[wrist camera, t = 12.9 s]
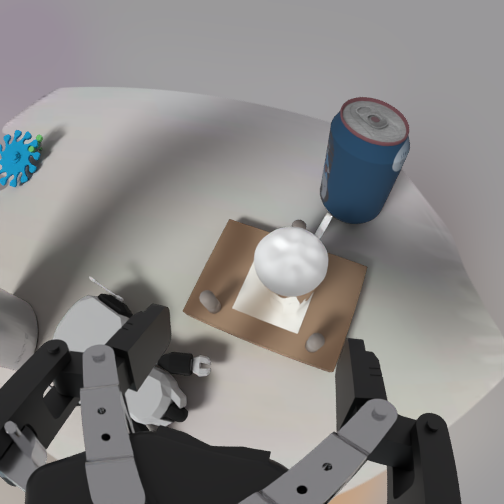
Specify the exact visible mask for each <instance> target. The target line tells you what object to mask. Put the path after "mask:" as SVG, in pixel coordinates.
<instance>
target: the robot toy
mask: <svg viewBox="0 0 504 504" xmlns="http://www.w3.org/2000/svg"><path fill="white" fill-rule="evenodd" d="M89 278H90V280H91V281H93V282H94V283H96V284H98V285H99V286H101V287H102V288H103V289H105V290H106V291H108V292H109V293H111V294H112V295H113V296H115V297H116V298H115V297H113V296H112V295H107V294H100V295H99V296H98V297H97V296H90V295H87V296H85V297H83V298H81V299H79V300H78V301H77V302H76V303H75V304H74V305H73V306H72V307H71V308H70V309H69V310H68V312H67V313H66V314H65V316H64V317H63V319H62V320H61V321H60V323H59V324H58V326H57V328H56V331H55V334H54V337H53V340H54V339H59V340H63V341H65V342H66V343H67V345H68V348H69V351H76V352H84V351H85V350H86V349H87V348H89V347H91V346H93V345H98V344H102V345H105V344H106V343H107V341H108V340H109V339H110V338H111V337H112V336H113V335H114V334H115V333H116V332H117V331H118V330H119V329H120V328H121V327H122V326H123V325H124V324H125V323H126V321H127V320H128V319H129V318H130V317H131V316H132V313H131V312H130V310H129V308H128V307H127V305H125V304H124V303H122V302H123V300H124V299H123V298H122V297H120V296H119V295H116V294H114V293H113V292H111V291H110V290H108V289H107V288H105V287H104V286H103V285H101V284H100V283H98V282H97V281H96V280H95V279H93V278H92V277H89ZM202 363H205V364H209V365H211V360H210V359H209V357H206V356H203V355H199V356H197V357H194V358H193V355H192V354H188V353H178V352H171V353H168V354H165V355H163V356H161V357H160V359H159V360H158V362H157V363H156V365H159V366H160V367H162V368H163V369H165V370H166V371H168V372H169V373H168V372H166V371H164V370H162V369H160V368H158V367H155V366H154V368H153V369H152V371H151V372H150V374H149V375H148V377H147V378H146V380H145V381H144V383H143V384H142V386H141V387H140V389H139V390H138V392H136V391H133V390H130V389H128V390H127V391H126V393H125V395H126V399H127V403H128V408H129V412H130V416H131V420H132V424H133V428H134V431H135V433H136V432H143V431H149V429H148V428H147V427H146V424H154V425H158V426H160V425H162V426H167V425H169V424H171V423H172V422H174V421H177V422H183V421H185V420H186V418H187V416H188V410H187V409H186V408H185V406H186V403H187V396H186V395H185V394H184V393H183V392H182V391H181V389H180V388H179V387H178V384H177V381H176V380H175V379H174V377H173V376H172V375H171V374H180V375H188V376H190V375H191V374H192V372H193V373H195V374H196V375H198V376H207V375H208V374H209V373H210V372H211V368H209V369H201V364H202ZM170 373H171V374H170ZM48 387H49V388H50V389H51V388H52V386H50V385H49V386H48ZM76 406H81V401H79V403H78V404H77V405H76Z"/></svg>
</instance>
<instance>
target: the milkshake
mask: <svg viewBox="0 0 504 504" xmlns="http://www.w3.org/2000/svg"><path fill="white" fill-rule="evenodd" d="M332 217H333V216H332V215H331V214H330V213H328V212H327V213H326V215H325V217H324V218H323V220H322V222H321V224H320V226H319V227H318V229H317V231H316V233H315V235H314V234H313V233H311V232H309V231H308V230H306V229H303V228H300V227H283V228H279V229H276V230H274V231H273V232H271V233H269V234H268V235H267V236H265V237H264V238H263V239H262V240H261V241H260V242H259V244H258V246H257V248H256V250H255V254H254V264H255V270H256V273H257V276H258V278H259V280H260V282H261V284H262V285H263V287H264V289H265V291H266V294H267V296H268V299H269V301H270V303H271V306H272V308H273V309H274V310H276V311H278V312H280V313H282V314H292V313H296V312H297V311H298V310H299V309H301V308H302V307H303V306H304V305H305V303H306V302H307V300H308V299H309V298H310V296H311V295H312V293H313V292H314V290H315V289H316V288H317V287H318V286H319V284H320V283H321V282H322V281H323V279H324V278H325V276H326V273H327V268H328V253H327V250H326V248H325V246H324V245H323V243H322V242H321V241H320V238H321V237H322V235H323V233H324V232H325V230H326V228H327V226H328V225H329V223H330V221H331V219H332Z"/></svg>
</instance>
